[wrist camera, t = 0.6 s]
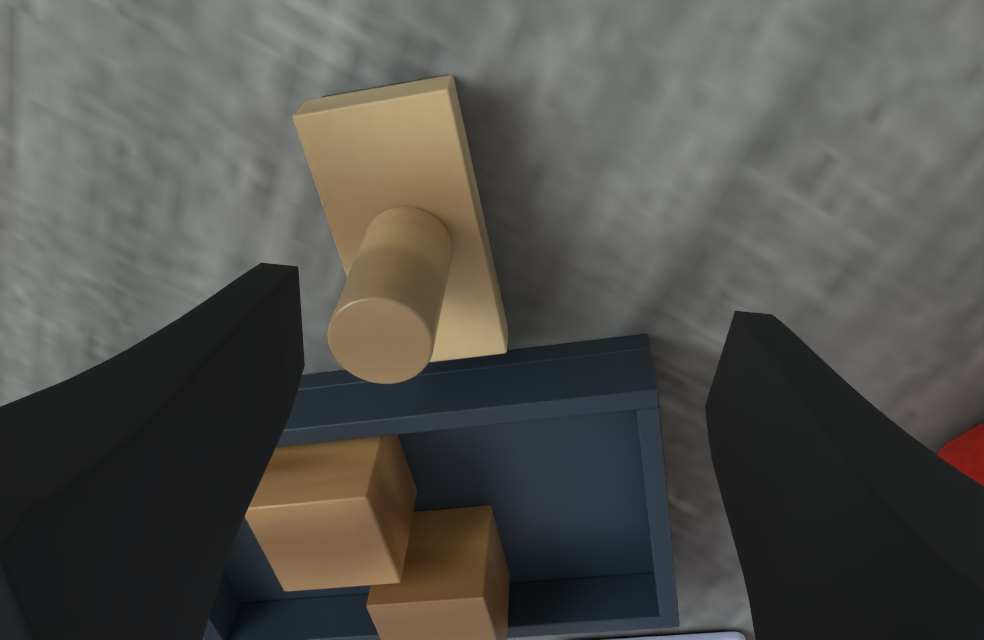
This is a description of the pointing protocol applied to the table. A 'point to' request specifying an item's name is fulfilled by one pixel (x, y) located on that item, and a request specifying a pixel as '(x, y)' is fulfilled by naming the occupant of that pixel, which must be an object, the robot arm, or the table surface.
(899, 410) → the table surface
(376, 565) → the cube
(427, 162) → the wooden rubber stamp
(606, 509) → the tray
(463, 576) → the cube
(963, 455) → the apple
